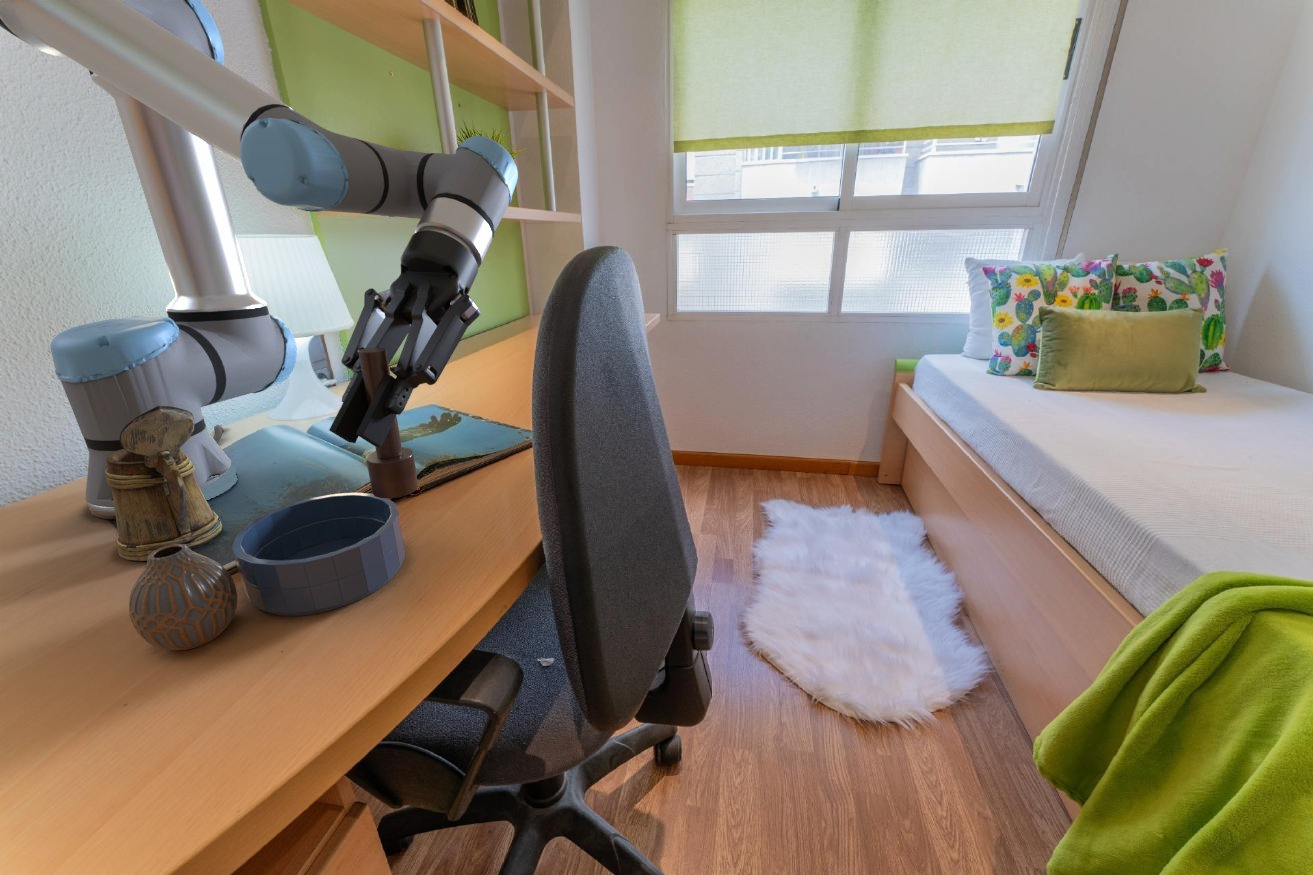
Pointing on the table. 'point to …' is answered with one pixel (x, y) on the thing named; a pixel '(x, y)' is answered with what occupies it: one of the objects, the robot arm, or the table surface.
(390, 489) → the pestle
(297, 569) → the bowl
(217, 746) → the table surface
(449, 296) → the robot arm
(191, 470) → the wooden mug
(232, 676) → the table surface
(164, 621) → the vase
